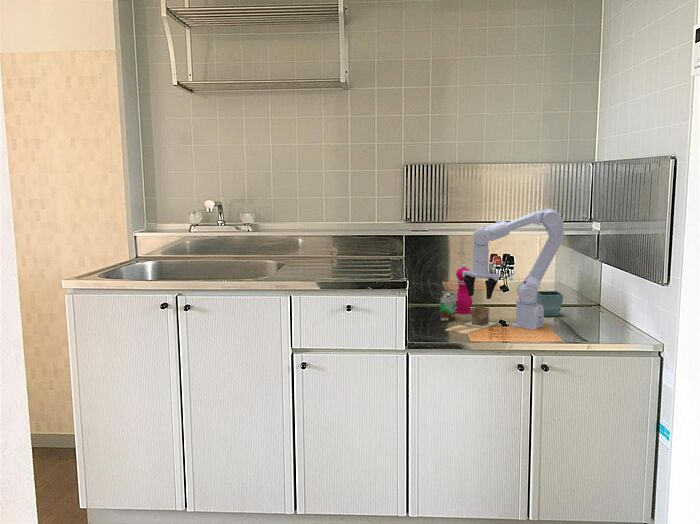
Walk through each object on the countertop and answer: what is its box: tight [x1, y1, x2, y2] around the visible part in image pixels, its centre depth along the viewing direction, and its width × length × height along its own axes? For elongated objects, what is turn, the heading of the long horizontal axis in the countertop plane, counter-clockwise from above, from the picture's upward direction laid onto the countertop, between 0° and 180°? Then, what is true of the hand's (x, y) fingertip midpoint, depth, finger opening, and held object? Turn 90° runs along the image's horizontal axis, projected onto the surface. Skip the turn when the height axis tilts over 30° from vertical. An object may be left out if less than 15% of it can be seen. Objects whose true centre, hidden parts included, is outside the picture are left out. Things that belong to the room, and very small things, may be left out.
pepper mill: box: [455, 263, 473, 315], centre depth 256 cm, size 7×7×20 cm
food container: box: [440, 291, 458, 323], centre depth 246 cm, size 12×6×10 cm, turn 168°
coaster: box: [444, 324, 481, 336], centre depth 230 cm, size 9×9×1 cm
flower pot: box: [536, 290, 564, 317], centre depth 251 cm, size 9×9×9 cm
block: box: [471, 305, 490, 326], centre depth 238 cm, size 4×4×6 cm
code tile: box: [464, 320, 497, 329], centre depth 239 cm, size 9×9×1 cm
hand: (479, 297), depth 237 cm, fingers open, 7 cm apart
